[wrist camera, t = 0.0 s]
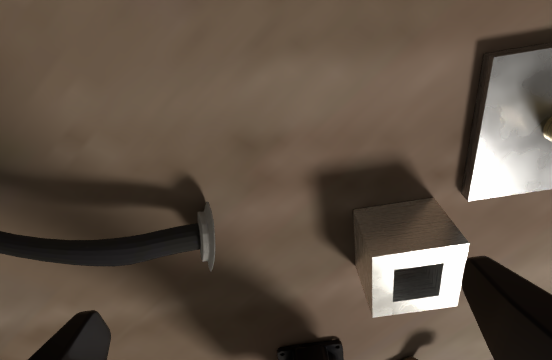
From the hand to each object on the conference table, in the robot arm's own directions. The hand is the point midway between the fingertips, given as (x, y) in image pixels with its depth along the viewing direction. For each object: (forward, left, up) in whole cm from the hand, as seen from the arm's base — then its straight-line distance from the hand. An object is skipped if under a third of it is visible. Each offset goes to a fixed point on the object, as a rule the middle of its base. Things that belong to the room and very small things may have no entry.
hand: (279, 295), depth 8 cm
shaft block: (-4, -18, -15) cm, 24 cm away
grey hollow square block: (-12, -8, -15) cm, 21 cm away
